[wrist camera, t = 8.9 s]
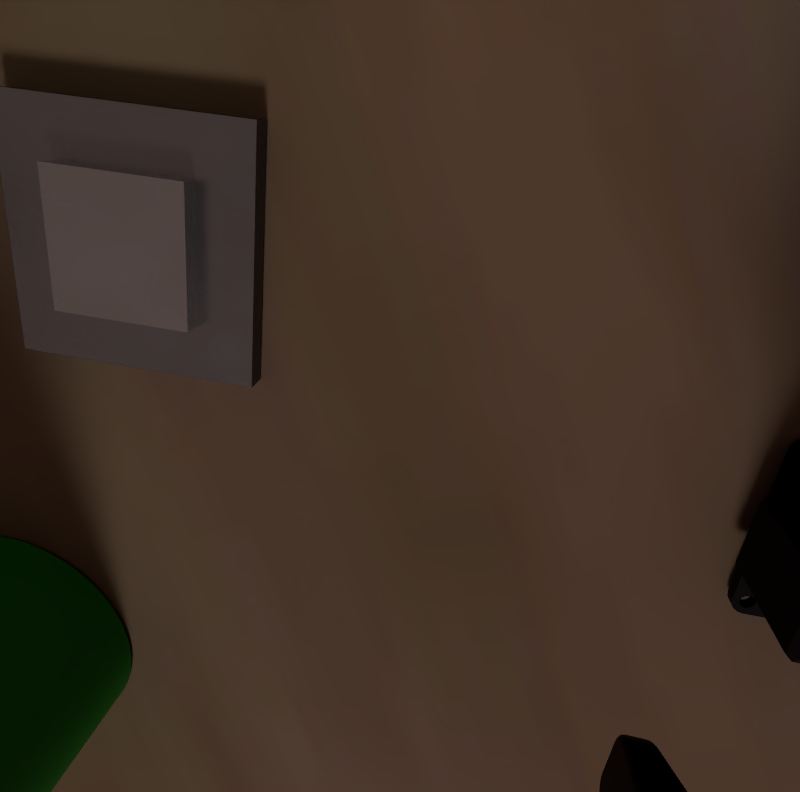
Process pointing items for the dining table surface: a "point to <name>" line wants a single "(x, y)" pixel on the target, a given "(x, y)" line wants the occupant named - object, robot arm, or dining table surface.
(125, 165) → the base
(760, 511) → the robot arm
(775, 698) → the dining table surface
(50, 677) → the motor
